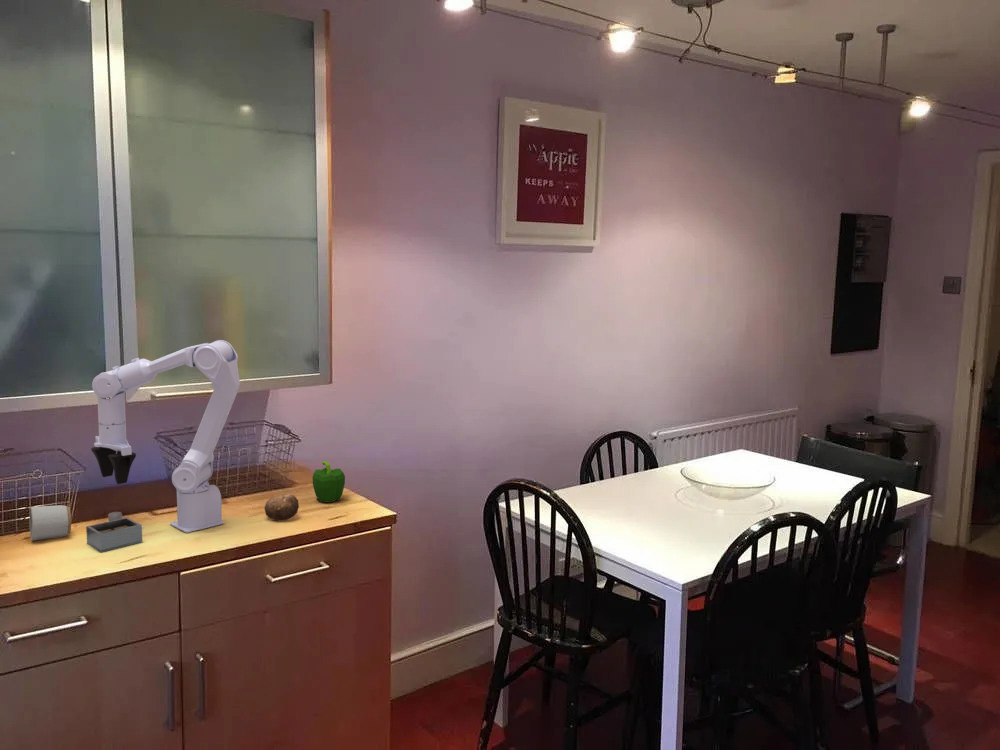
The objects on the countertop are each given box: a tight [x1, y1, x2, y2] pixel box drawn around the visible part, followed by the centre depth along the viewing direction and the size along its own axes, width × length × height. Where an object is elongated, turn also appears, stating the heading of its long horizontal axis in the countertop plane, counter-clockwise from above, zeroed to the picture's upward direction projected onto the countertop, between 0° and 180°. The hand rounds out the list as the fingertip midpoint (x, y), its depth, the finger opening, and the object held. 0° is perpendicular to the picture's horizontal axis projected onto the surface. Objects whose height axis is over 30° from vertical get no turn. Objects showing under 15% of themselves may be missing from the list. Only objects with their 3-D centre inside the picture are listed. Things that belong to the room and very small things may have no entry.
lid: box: [107, 511, 145, 530], centre depth 191 cm, size 10×8×4 cm
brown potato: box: [264, 493, 300, 522], centre depth 203 cm, size 8×8×6 cm
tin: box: [85, 516, 143, 553], centre depth 183 cm, size 9×7×4 cm
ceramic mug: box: [29, 504, 72, 542], centre depth 186 cm, size 10×8×7 cm
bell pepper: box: [312, 461, 346, 503], centre depth 217 cm, size 8×8×10 cm
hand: (114, 479), depth 194 cm, fingers open, 7 cm apart
